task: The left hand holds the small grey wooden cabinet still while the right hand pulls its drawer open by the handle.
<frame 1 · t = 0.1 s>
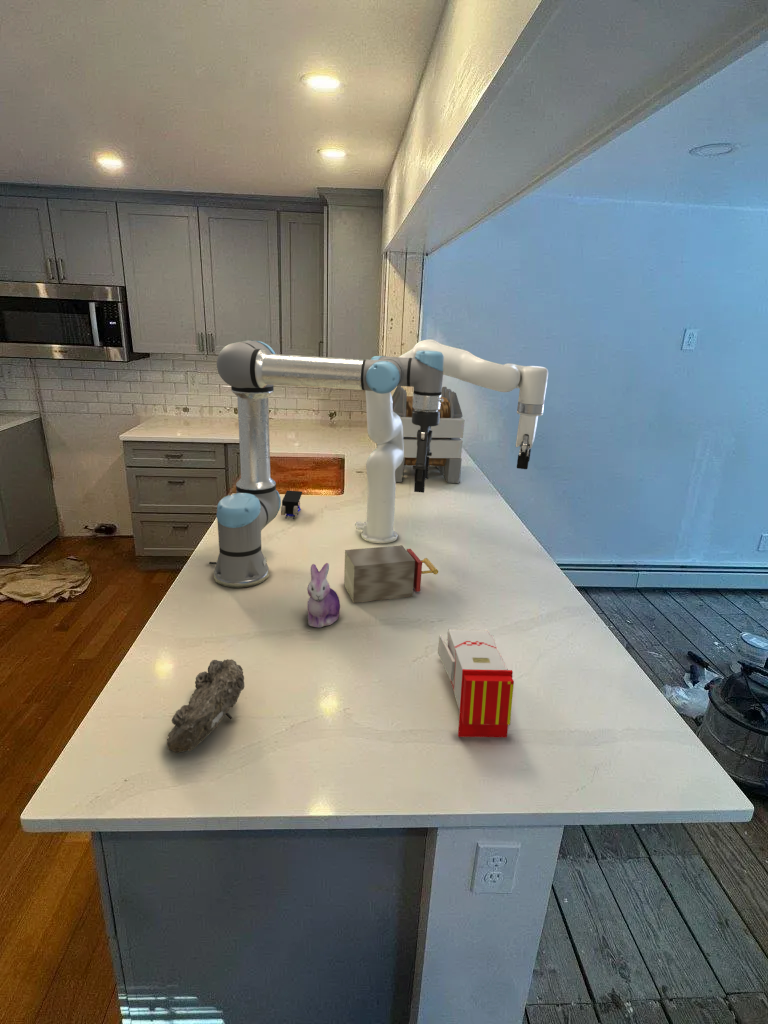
left hand: (421, 484, 161), 28 cm above the counter, tool pointing down, fingers open, 13 cm apart
right hand: (523, 464, 174), 31 cm above the counter, tool pointing down, fingers open, 9 cm apart
transformer: (419, 473, 275), on the counter
drawer: (398, 571, 159), point 5 cm above the counter, slide at 1.2 cm
figurine: (323, 619, 143), on the counter
cabinet: (377, 590, 159), on the counter
toy: (469, 691, 119), on the counter
figurine character: (291, 514, 213), on the counter
fossil: (212, 717, 108), on the counter
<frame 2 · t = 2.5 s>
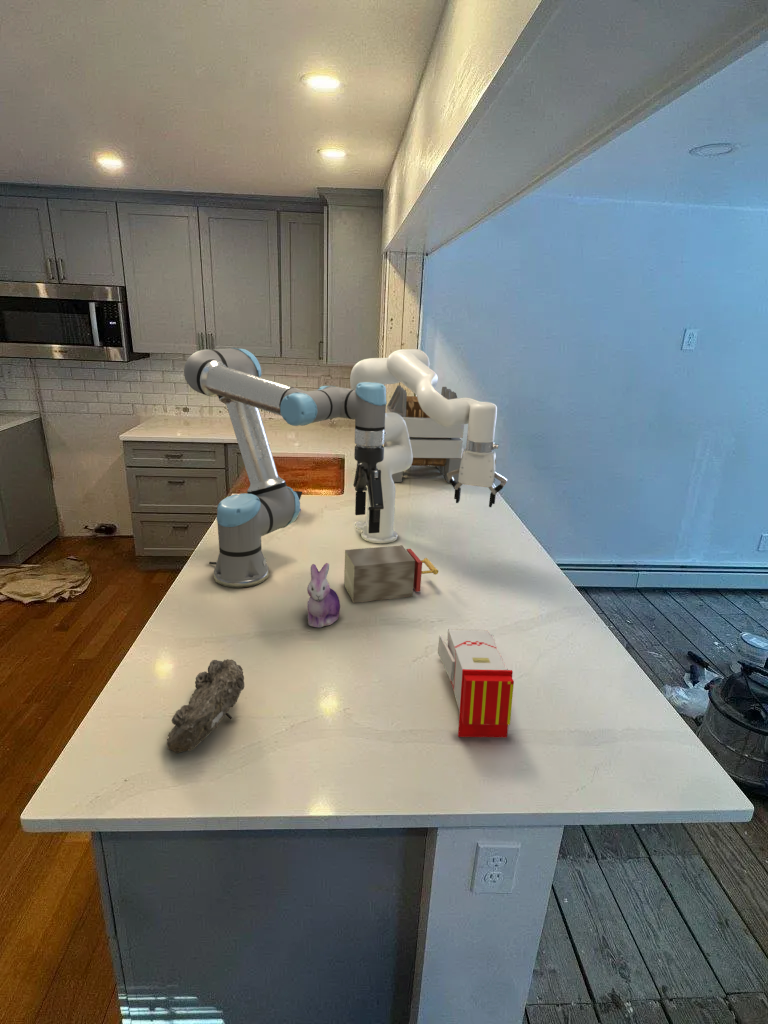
left hand: (366, 523, 151), 21 cm above the counter, tool pointing down, fingers open, 13 cm apart
right hand: (474, 503, 166), 22 cm above the counter, tool pointing down, fingers open, 9 cm apart
nothing on the counter moved.
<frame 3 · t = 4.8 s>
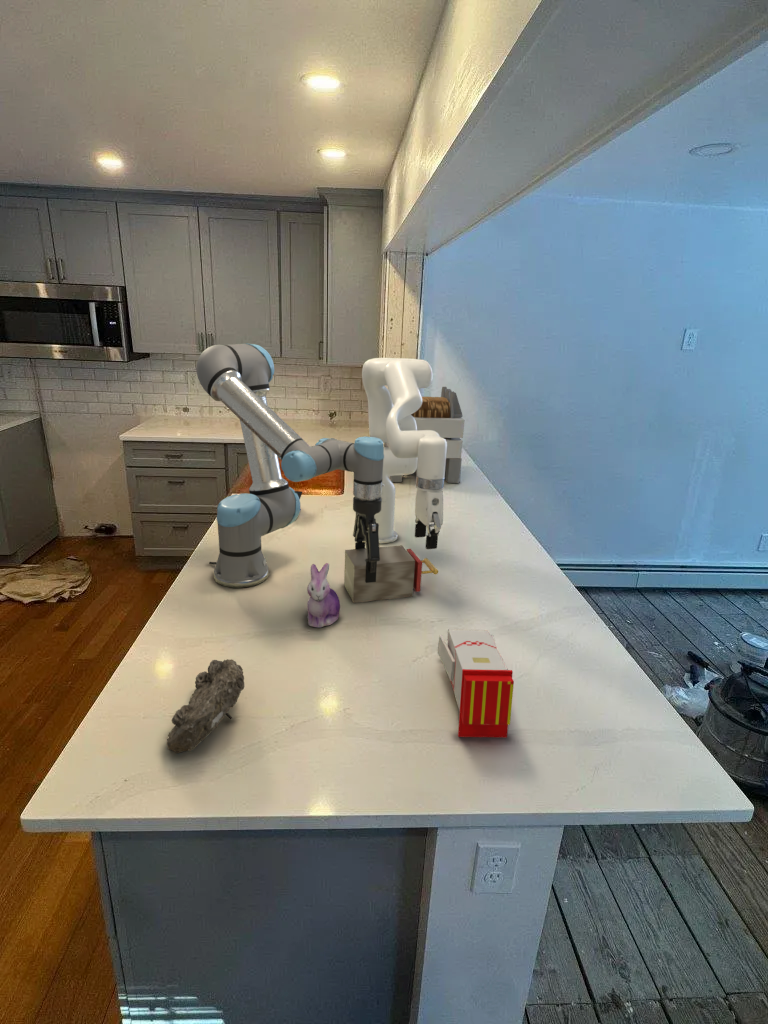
left hand: (364, 572, 156), 6 cm above the counter, tool pointing down, fingers closed on cabinet, 11 cm apart
right hand: (425, 542, 158), 14 cm above the counter, tool pointing down, fingers open, 7 cm apart
cabinet: (377, 590, 159), on the counter, touching left hand
everything else where it was.
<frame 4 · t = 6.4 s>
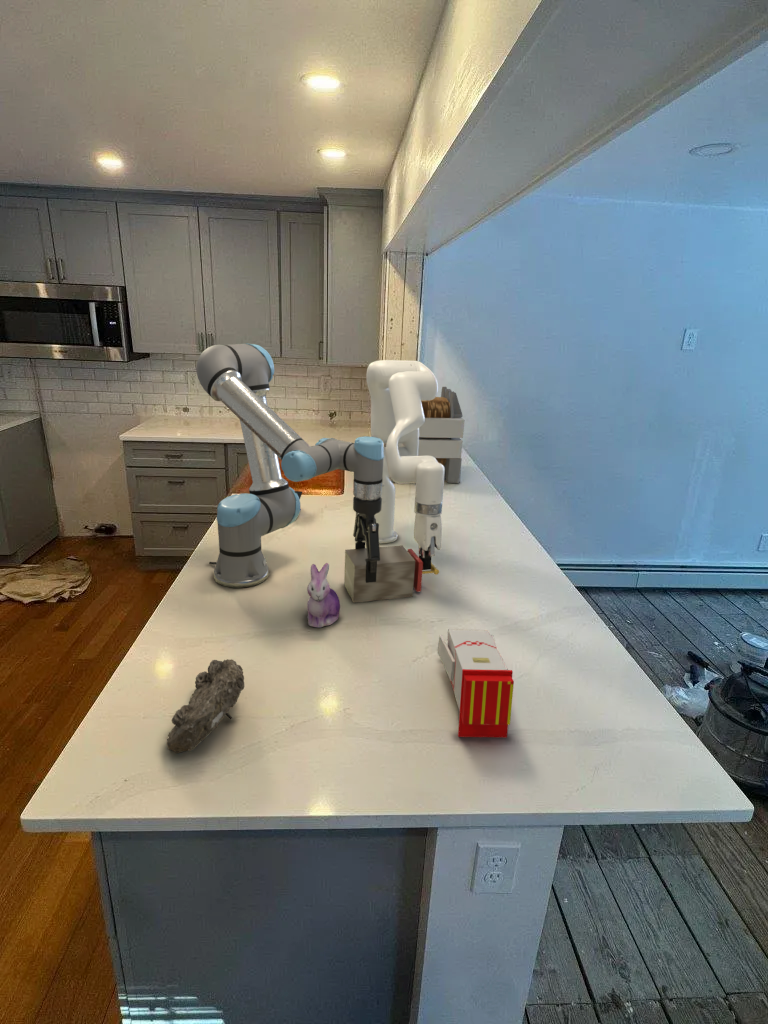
left hand: (365, 572, 156), 6 cm above the counter, tool pointing down, fingers closed on cabinet, 11 cm apart
right hand: (424, 568, 160), 6 cm above the counter, tool pointing down, fingers closed
cabinet: (377, 590, 159), on the counter, touching left hand
everything else where it was.
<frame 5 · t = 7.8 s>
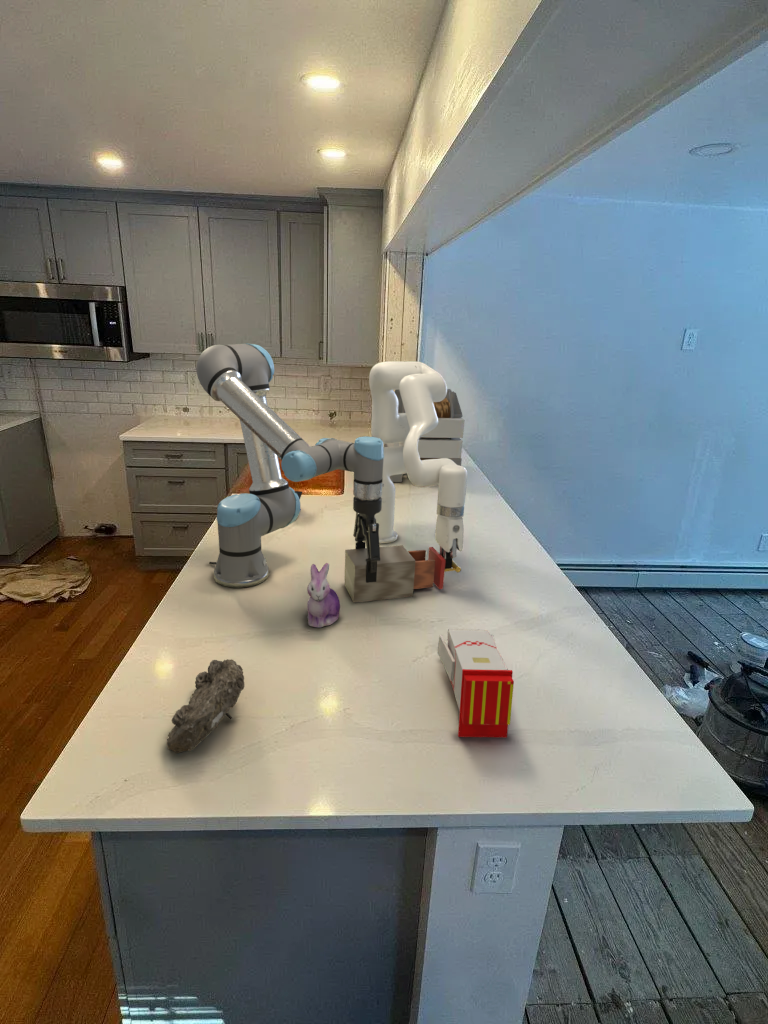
left hand: (365, 572, 156), 6 cm above the counter, tool pointing down, fingers closed on cabinet, 11 cm apart
right hand: (445, 569, 163), 5 cm above the counter, tool pointing down, fingers closed
drawer: (421, 569, 161), point 5 cm above the counter, slide at 8.0 cm, touching right hand
cabinet: (378, 590, 159), on the counter, touching left hand
everything else where it was.
when the left hand's fingers open (6 cm above the counter, at t = 9.7 s): cabinet stays where it is, on the counter.
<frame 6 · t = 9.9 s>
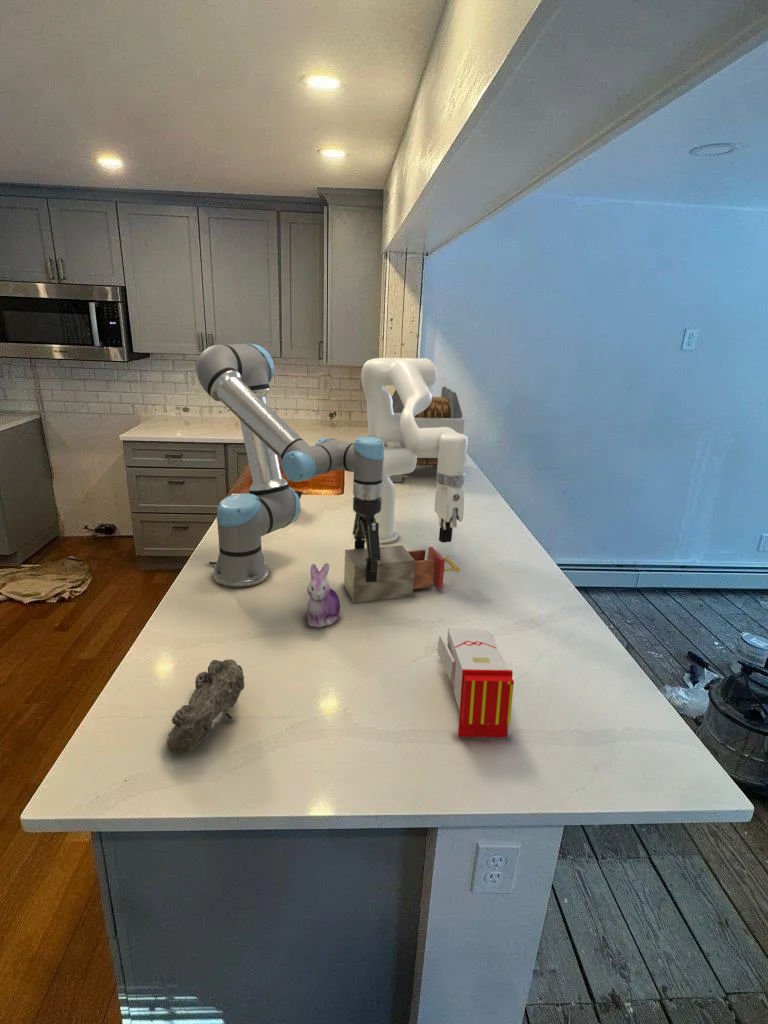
left hand: (364, 571, 156), 6 cm above the counter, tool pointing down, fingers open, 12 cm apart
right hand: (445, 540, 160), 14 cm above the counter, tool pointing down, fingers closed
drawer: (420, 568, 161), point 5 cm above the counter, slide at 7.9 cm
cabinet: (377, 590, 159), on the counter
everything else where it was.
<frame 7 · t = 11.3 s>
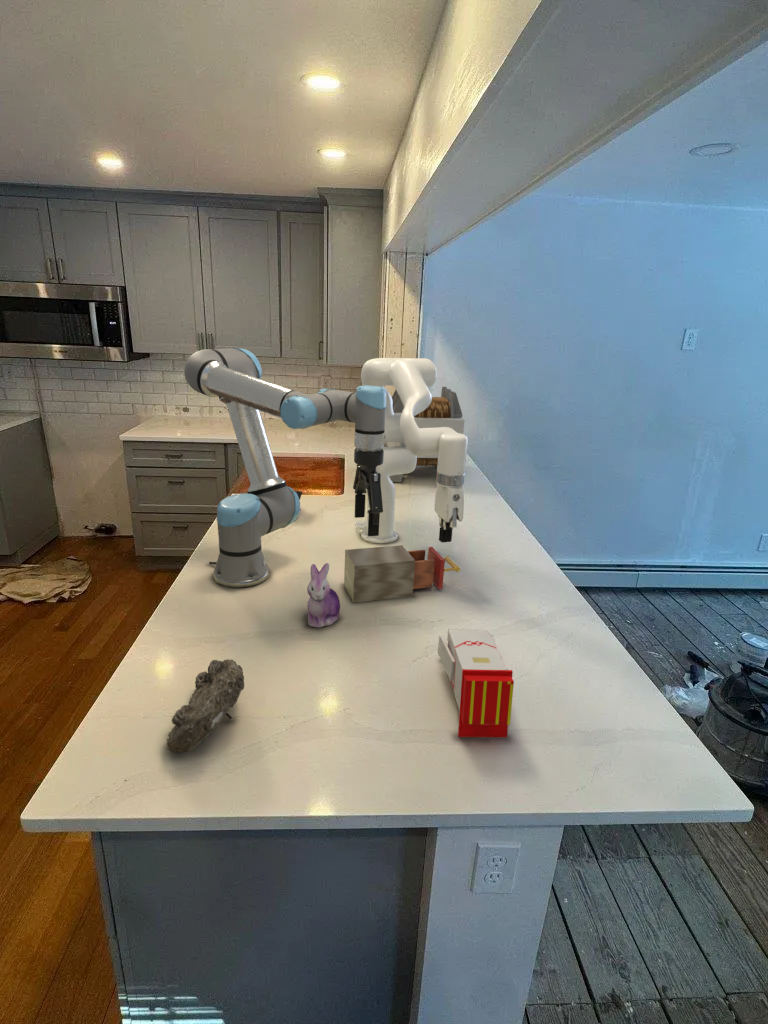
left hand: (366, 526, 151), 20 cm above the counter, tool pointing down, fingers open, 13 cm apart
right hand: (445, 540, 160), 14 cm above the counter, tool pointing down, fingers closed
nothing on the counter moved.
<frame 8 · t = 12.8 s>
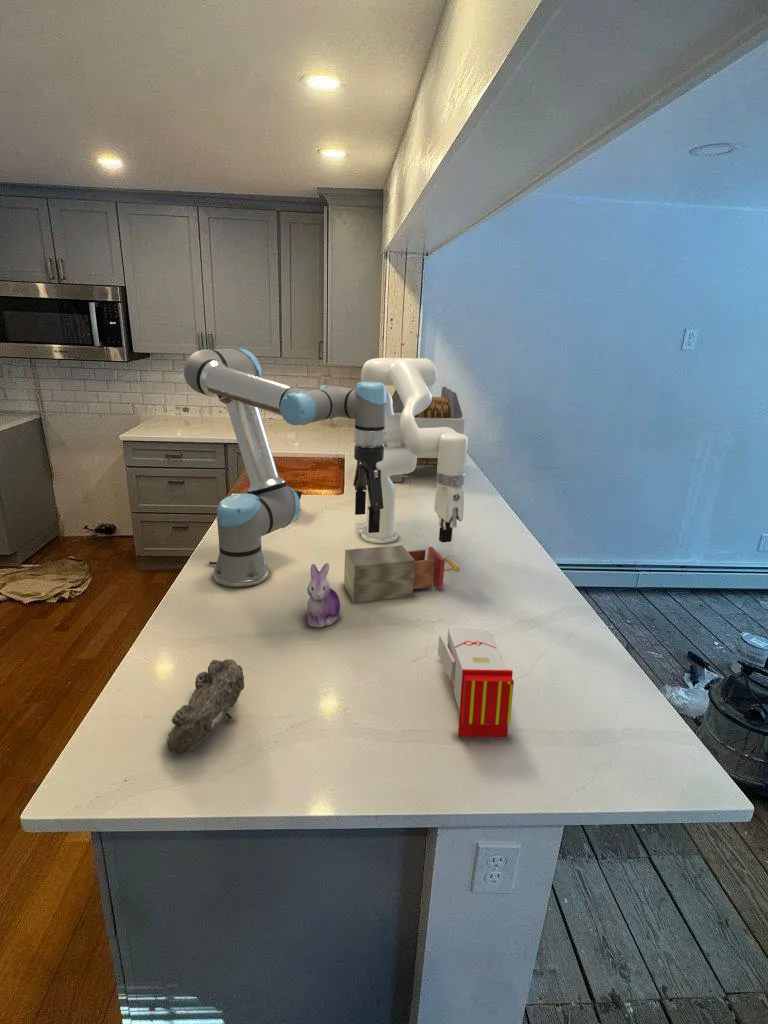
left hand: (366, 522, 151), 21 cm above the counter, tool pointing down, fingers open, 13 cm apart
right hand: (445, 540, 160), 14 cm above the counter, tool pointing down, fingers closed
nothing on the counter moved.
at the end: drawer slide at 7.9 cm; cabinet tilted 0°; cabinet never tilted more than 1° during the clip; cabinet moved 0.1 cm from its start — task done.
